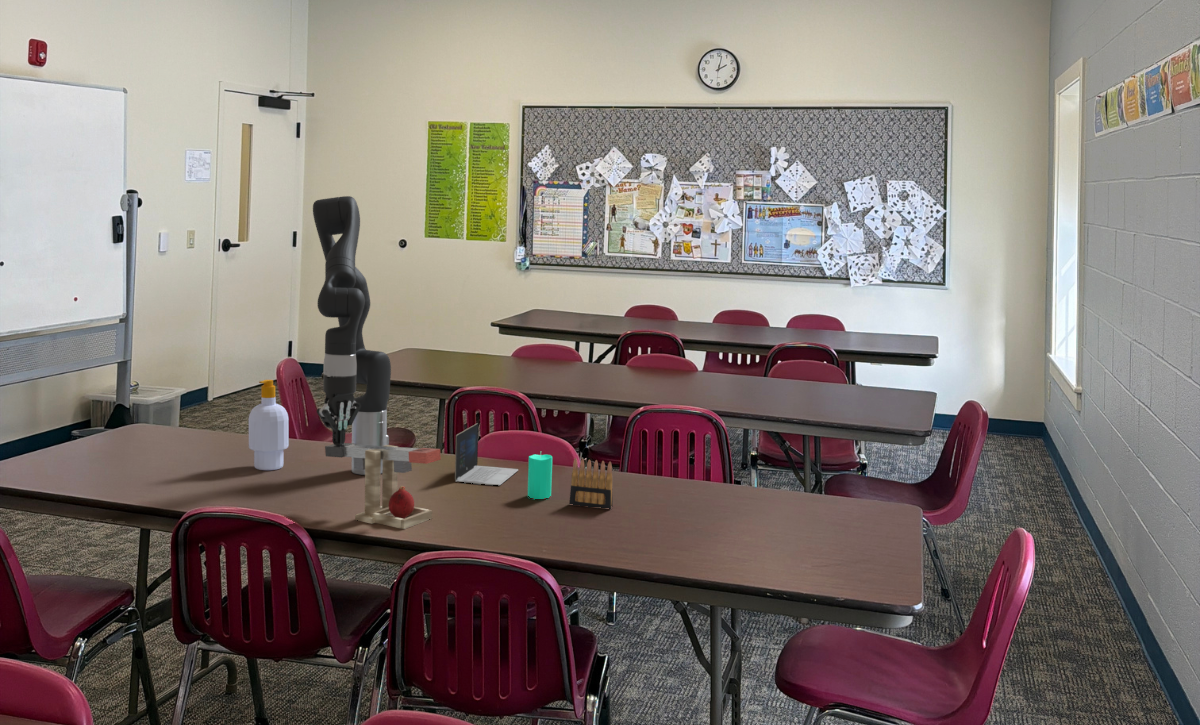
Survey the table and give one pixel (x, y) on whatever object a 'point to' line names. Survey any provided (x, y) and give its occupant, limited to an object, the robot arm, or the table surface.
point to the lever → (385, 455)
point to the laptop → (475, 462)
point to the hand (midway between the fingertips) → (338, 444)
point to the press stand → (385, 494)
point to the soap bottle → (268, 430)
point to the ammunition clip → (591, 485)
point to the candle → (539, 476)
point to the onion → (401, 503)
